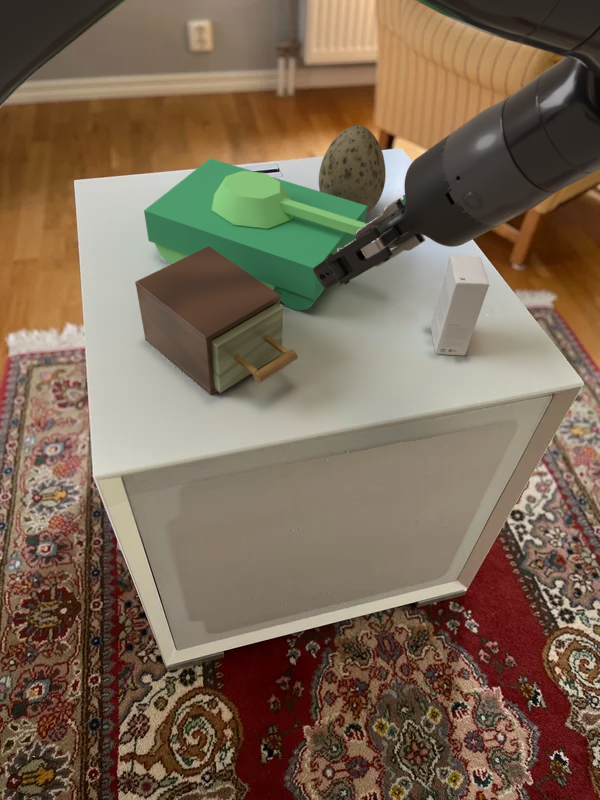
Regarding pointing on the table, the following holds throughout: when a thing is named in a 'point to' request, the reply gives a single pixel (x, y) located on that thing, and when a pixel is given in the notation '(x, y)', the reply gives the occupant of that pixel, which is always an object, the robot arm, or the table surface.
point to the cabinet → (198, 308)
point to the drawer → (250, 349)
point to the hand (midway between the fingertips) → (348, 257)
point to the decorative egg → (354, 167)
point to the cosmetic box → (458, 304)
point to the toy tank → (255, 226)
